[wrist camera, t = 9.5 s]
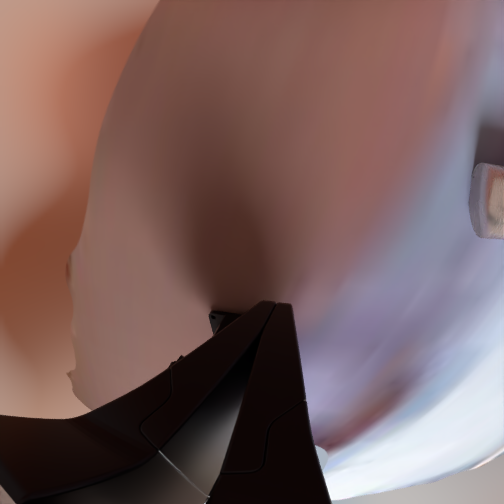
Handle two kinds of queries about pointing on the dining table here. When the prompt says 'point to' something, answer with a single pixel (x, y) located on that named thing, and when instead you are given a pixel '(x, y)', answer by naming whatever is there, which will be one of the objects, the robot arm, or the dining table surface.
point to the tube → (487, 201)
